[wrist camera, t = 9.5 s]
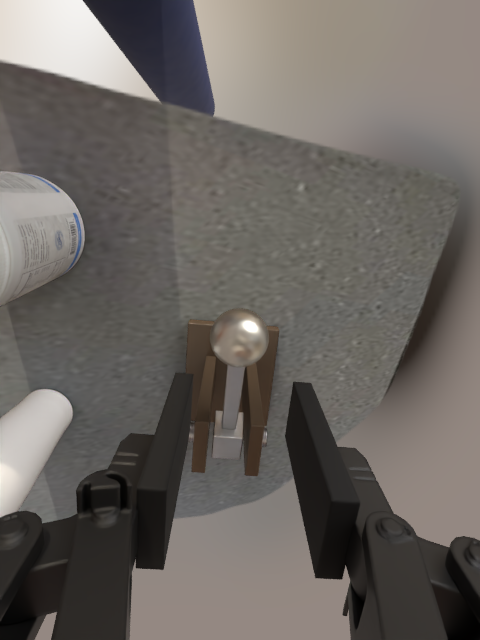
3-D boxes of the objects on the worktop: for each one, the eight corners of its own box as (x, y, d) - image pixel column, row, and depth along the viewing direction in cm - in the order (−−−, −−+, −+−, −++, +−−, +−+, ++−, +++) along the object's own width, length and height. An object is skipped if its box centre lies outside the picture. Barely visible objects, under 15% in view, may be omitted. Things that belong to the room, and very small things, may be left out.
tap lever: (213, 294, 23) (208, 331, 20) (271, 299, 23) (274, 337, 20) (206, 424, 31) (201, 464, 28) (248, 427, 31) (248, 467, 28)
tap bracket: (189, 319, 37) (167, 377, 25) (278, 326, 38) (298, 387, 26) (184, 414, 41) (163, 505, 29) (265, 420, 41) (278, 512, 29)
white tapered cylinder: (39, 443, 42) (-61, 570, 27) (5, 393, 40) (-123, 502, 25) (93, 422, 41) (18, 542, 27) (61, 371, 39) (-39, 470, 25)
